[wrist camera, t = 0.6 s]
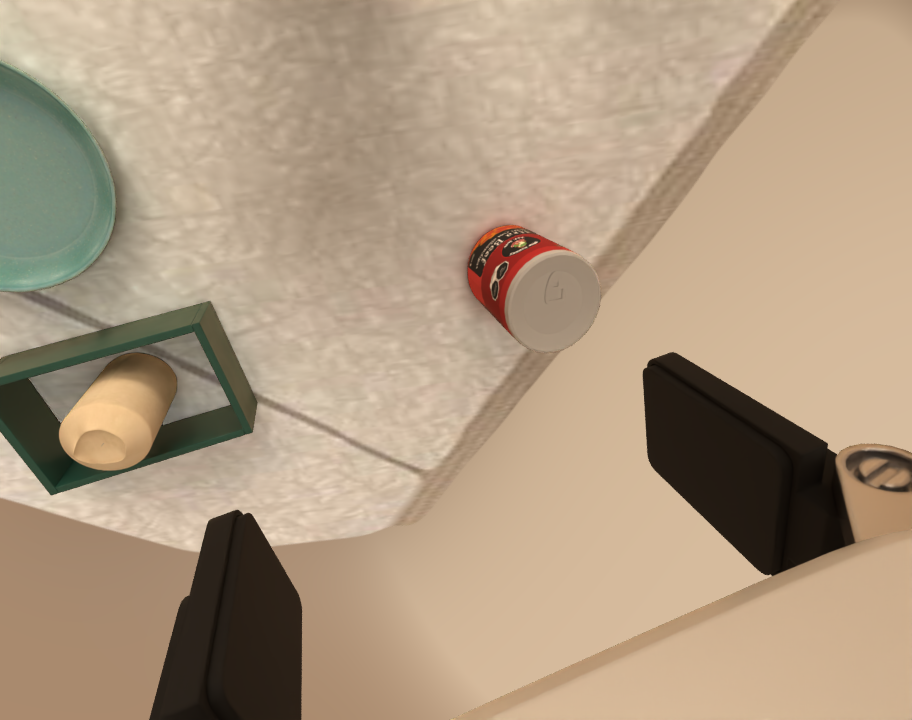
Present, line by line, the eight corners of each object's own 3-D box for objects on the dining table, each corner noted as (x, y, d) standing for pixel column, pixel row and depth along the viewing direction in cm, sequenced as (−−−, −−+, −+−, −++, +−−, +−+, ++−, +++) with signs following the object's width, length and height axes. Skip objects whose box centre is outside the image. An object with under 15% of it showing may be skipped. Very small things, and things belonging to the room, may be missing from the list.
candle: (117, 415, 43) (69, 491, 34) (91, 358, 40) (33, 424, 31) (186, 403, 44) (157, 473, 35) (166, 346, 41) (129, 407, 33)
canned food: (529, 209, 45) (591, 234, 35) (550, 287, 49) (611, 329, 39) (452, 243, 44) (493, 278, 34) (479, 320, 48) (523, 370, 38)
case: (2, 356, 38) (-36, 387, 34) (210, 300, 41) (199, 322, 36) (76, 458, 43) (50, 495, 39) (257, 402, 45) (253, 432, 41)
